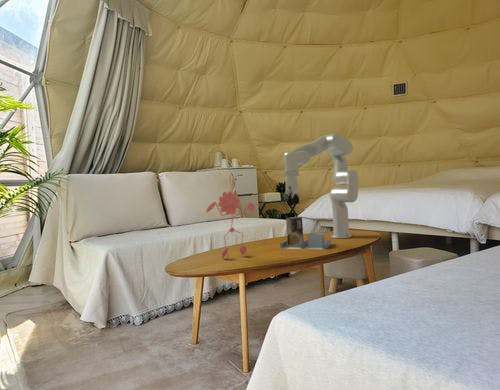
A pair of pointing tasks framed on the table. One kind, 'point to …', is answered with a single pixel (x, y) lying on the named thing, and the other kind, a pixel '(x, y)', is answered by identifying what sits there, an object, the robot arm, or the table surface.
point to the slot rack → (305, 245)
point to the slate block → (316, 240)
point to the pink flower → (229, 205)
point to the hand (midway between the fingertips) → (293, 204)
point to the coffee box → (294, 231)
